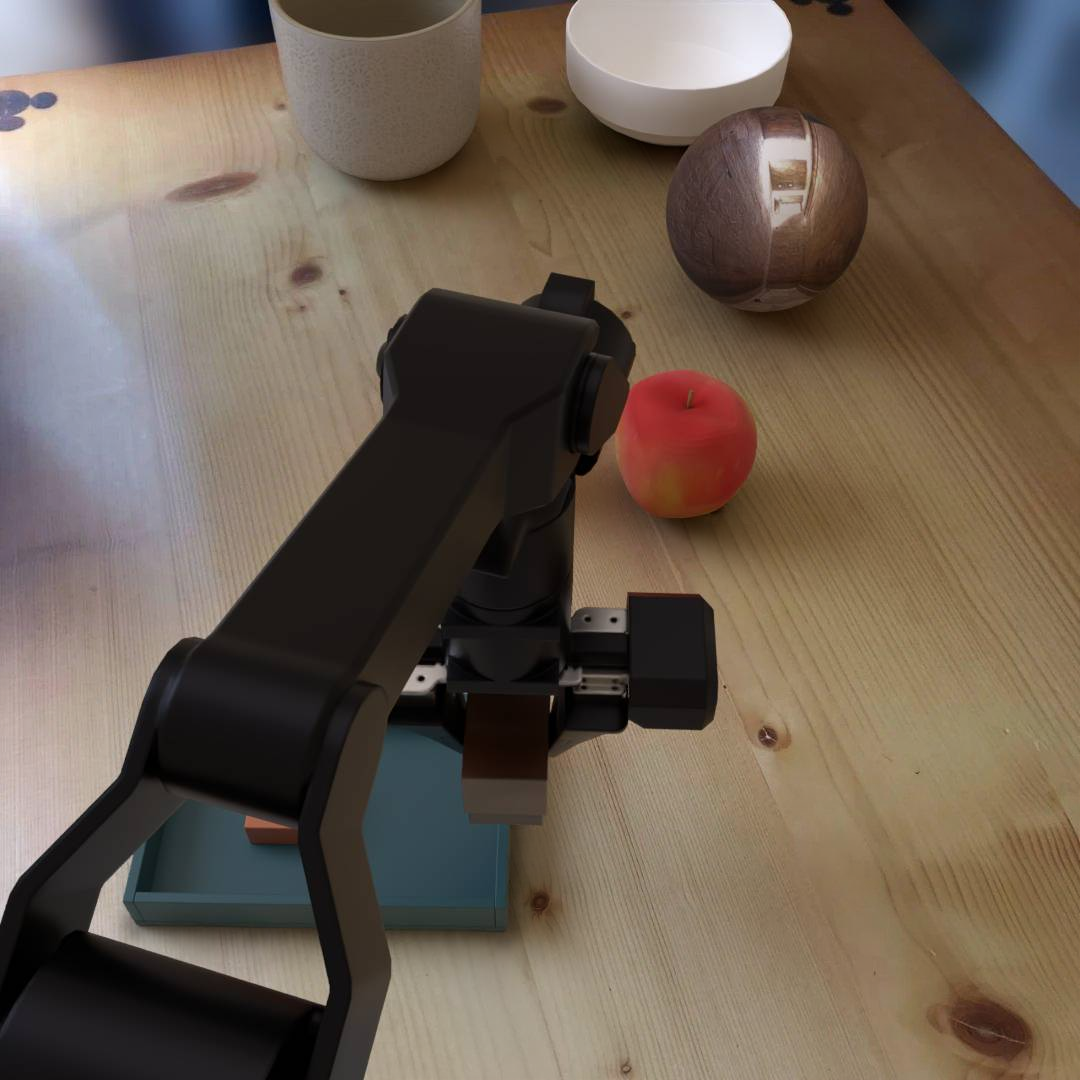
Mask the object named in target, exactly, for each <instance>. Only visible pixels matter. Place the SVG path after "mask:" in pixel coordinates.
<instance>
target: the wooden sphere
mask: <svg viewBox="0 0 1080 1080" xmlns="http://www.w3.org/2000/svg"><path fill="white" fill-rule="evenodd" d="M665 204H666V205H665V223H666V224H665V225H666V231H667V235H668V236H667V237H668V240H669V244H670V247H671V249H672V251H673V252H672V253H673V254H674V256H675V258H676V260H677V262H678V264H679V266H680V267H681V269H682V271H683V272H684V273H685V275H686V276H687V277H688V279H689V280H690V281H691V282H692V283H693V284H694V285H695V286H696V287H697V288H698V289H699V290H700V291H702V292H703V293H705V294H706V295H708V296H709V297H710V298H712V299H714V300H716V301H718V302H719V303H722V304H724V305H726V306H728V307H732V308H735V309H738V310H742V311H747V312H748V311H749V312H759V313H765V312H766V313H769V312H777V311H782V310H788V309H791V308H794V307H797V306H800V305H803V304H805V303H807V302H809V301H811V300H813V299H815V298H816V297H817V296H820V295H821V294H823V293H824V292H825V291H826V290H828V289H829V288H830V287H831V286H832V285H834V283H836V282H837V280H839V279H840V277H841V276H842V275H843V274H844V273H845V271H846V270H848V268H849V266H850V265H851V264H852V261H854V258H855V257H856V255H857V252H858V251H859V248H860V246H861V243H862V240H863V238H864V235H865V231H866V227H867V221H868V214H869V211H868V210H869V194H868V187H867V182H866V179H865V175H864V172H863V170H862V167H861V164H860V161H859V159H858V157H857V156H856V154H855V152H854V151H853V149H852V148H851V146H850V145H849V144H848V142H847V141H846V140H845V138H844V137H843V136H842V135H841V134H840V133H839V132H838V131H836V130H835V128H833V127H832V126H830V125H829V124H828V123H826V122H825V121H824V120H822V119H820V118H819V117H817V116H815V115H812V114H810V113H808V112H806V111H802V110H799V109H795V108H791V107H785V106H777V105H776V106H775V105H773V106H765V107H756V108H750V109H746V110H743V111H739V112H736V113H734V114H731V115H729V116H727V117H725V118H723V119H721V120H719V121H718V122H716V123H715V124H713V125H712V126H710V127H709V128H708V129H706V130H705V131H704V132H703V133H702V134H701V135H700V136H699V137H697V138H696V140H695V141H694V142H693V143H692V144H691V145H688V147H687V149H686V150H685V152H684V153H683V155H682V157H681V158H680V160H679V161H678V163H677V165H676V167H675V169H674V172H673V174H672V177H671V180H670V183H669V186H668V191H667V197H666V203H665Z"/></svg>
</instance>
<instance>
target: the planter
mask: <svg viewBox="0 0 1080 1080" xmlns="http://www.w3.org/2000/svg"><path fill="white" fill-rule="evenodd" d="M267 1H268V6H269V12H270V13H269V14H270V18H271V24H272V29H273V33H274V34H273V35H274V38H275V43H276V48H277V53H278V58H279V64H280V69H281V74H282V79H283V84H284V88H285V91H286V96H287V100H288V103H289V107H290V110H291V113H292V117H293V120H294V122H295V125H296V127H297V131H298V132H299V134H300V135H301V138H302V139H303V140H304V143H305V144H306V146H307V147H308V148H309V149H310V150H311V151H312V153H314V154H315V155H316V156H317V157H318V158H319V159H320V160H322V161H323V162H324V163H326V164H328V165H329V166H331V167H333V168H335V170H338V171H340V172H343V173H345V174H347V175H349V176H353V177H356V178H360V179H363V180H369V181H376V182H377V181H378V182H393V181H395V182H396V181H402V180H408V179H412V178H416V177H419V176H422V175H425V174H427V173H429V172H431V171H434V170H435V169H437V168H439V167H441V166H442V165H443V164H445V163H447V162H448V161H449V160H450V159H452V158H453V157H454V156H455V155H456V154H457V153H458V152H459V151H460V150H461V149H462V148H463V147H464V145H465V144H466V142H467V141H469V139H470V136H471V134H472V132H473V130H474V128H475V125H476V122H477V118H478V114H479V108H480V100H481V93H482V66H483V65H482V64H483V63H482V62H483V61H482V59H483V58H482V57H483V55H482V50H483V49H482V48H483V47H482V0H267Z"/></svg>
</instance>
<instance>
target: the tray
mask: <svg viewBox="0 0 1080 1080" xmlns="http://www.w3.org/2000/svg"><path fill="white" fill-rule="evenodd" d="M464 696H465V700H466V704H467V693H464ZM462 755H463V754H460V753H458V752H456V751H454V750H452V749H450V748H448V747H446V746H444V745H443V744H441V743H439V742H436V741H434V740H432V739H430V738H427V737H425V736H422V735H420V734H417V733H415V732H412V731H409V730H407V729H404V728H398V727H389V726H387V730H386V736H385V740H384V745H383V749H382V754H381V758H380V762H379V766H378V769H377V773H376V777H375V780H374V784H373V788H372V791H371V795H370V798H369V802H368V806H367V809H366V813H365V816H364V820H363V824H362V834H363V839H364V843H365V847H366V852H367V856H368V860H369V865H370V869H371V873H372V877H373V882H374V886H375V890H376V895H377V899H378V903H379V908H380V912H381V916H382V921H383V925H384V929H385V930H414V931H415V930H416V931H417V930H418V931H419V930H420V931H421V930H422V931H472V932H473V931H474V932H475V931H481V932H482V931H483V932H485V931H486V932H507V931H508V916H509V915H508V911H509V910H508V909H509V885H510V884H509V881H510V879H509V878H510V854H511V853H510V852H511V851H510V849H511V825H505V824H472V823H470V822H469V813H464V808H463V797H462V785H461V768H462ZM245 819H246V815H244V814H240V813H237V812H233V811H230V810H226V809H223V808H219V807H216V806H212V805H209V804H205V803H202V802H198V801H195V800H191V799H187V800H186V801H185V802H184V803H183V804H182V805H181V806H180V807H179V808H178V809H177V810H176V811H175V812H174V813H173V814H172V815H171V816H170V817H169V818H168V819H167V820H166V821H165V822H164V823H163V824H162V825H161V826H160V827H159V828H158V829H157V830H156V831H155V832H154V833H153V834H152V835H151V837H150V838H149V839H148V840H147V841H146V842H145V843H144V844H143V845H142V846H141V847H140V848H139V849H138V850H137V851H136V852H135V853H134V854H133V855H132V858H131V862H130V868H129V871H128V876H127V880H126V885H125V888H124V893H123V897H122V903H123V905H124V908H125V909H126V910H127V912H128V914H129V915H130V917H131V918H132V920H133V922H134V924H135V925H136V926H171V927H172V926H174V927H175V926H178V927H229V928H230V927H235V928H237V927H239V928H291V929H292V928H295V929H297V928H298V929H299V928H300V929H301V928H302V929H317V927H316V923H315V918H314V914H313V909H312V905H311V900H310V896H309V891H308V887H307V882H306V878H305V873H304V869H303V864H302V860H301V855H300V851H299V846H298V844H251V843H250V842H249V839H248V836H247V834H246V831H245V828H244V825H245Z"/></svg>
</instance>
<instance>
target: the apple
mask: <svg viewBox="0 0 1080 1080" xmlns="http://www.w3.org/2000/svg"><path fill="white" fill-rule="evenodd" d="M613 436H614V437H613V440H614V451H615V456H616V457H615V458H616V462H617V465H618V468H619V472H620V474H621V477H622V480H623V483H624V484H625V487H626V488H627V490H628V492H629V494H630V496H631V498H633V500H634V502H636V503H637V504H638V506H640V507H641V508H642V510H644V511H645V512H646V513H648V514H650V515H651V516H654V517H657V518H665V519H684V518H693V517H699V516H703V515H707V514H710V513H713V512H715V511H717V510H719V509H721V508H722V507H724V506H725V505H726V504H727V503H728V502H730V500H732V499H733V497H734V496H735V495H737V493H738V492H739V491H740V490H741V488H742V487H743V486H744V485H745V483H746V481H747V479H748V478H749V476H750V474H751V472H752V469H753V466H754V463H755V460H756V455H757V448H758V431H757V423H756V420H755V417H754V414H753V412H752V410H751V408H750V406H749V405H748V403H747V401H746V400H745V399H744V398H743V396H742V395H741V394H740V393H739V392H738V391H737V390H736V389H735V388H733V387H732V386H731V385H729V384H728V383H726V382H724V381H723V380H720V379H718V378H716V377H714V376H711V375H710V374H707V373H705V372H701V371H698V370H693V369H675V370H669V371H663V372H659V373H656V374H653V375H650V376H648V377H645V378H643V379H640V381H638V382H636V383H635V384H634V385H632V386H631V387H630V390H629V395H628V399H627V402H626V405H625V407H624V410H623V413H622V416H621V418H620V421H619V424H618V427H617V429H616V432H615V433H614V434H613Z"/></svg>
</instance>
